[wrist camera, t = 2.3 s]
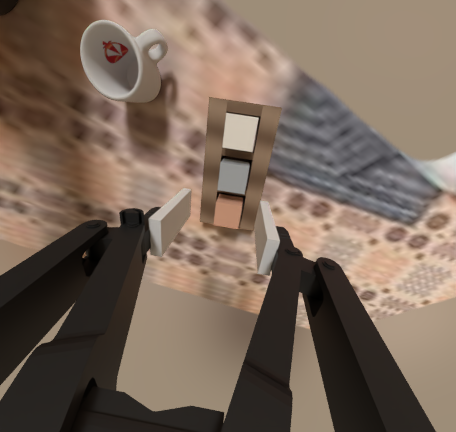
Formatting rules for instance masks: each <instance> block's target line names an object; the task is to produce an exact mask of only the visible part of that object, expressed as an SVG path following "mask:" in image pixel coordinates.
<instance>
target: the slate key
mask: <svg viewBox="0 0 456 432" xmlns="http://www.w3.org/2000/svg"><path fill="white" fill-rule="evenodd" d="M249 167H250V166H249V162H245V161H238V160H232V159H226V158H224V159H223V160H222V161H221V163H220V172H219V181H218V189H217V190H220V191H226V192H232V193H238V194H245V189H246V183H247V178H248V172H249Z"/></svg>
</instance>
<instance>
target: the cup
mask: <svg viewBox="0 0 456 432" xmlns="http://www.w3.org/2000/svg"><path fill="white" fill-rule="evenodd" d="M155 44H159V45H158V46H157V47H156V48H155V49H153V50H149V49H150V48H151V47H152V46H153V45H155ZM167 51H168V46H167V43H166V40H165V38H164V37H163V35H162V34H161V33H160V32H159V31H158V30H156V29H148V30H146V31H144V32H143V33H142V34H140V35H139V36H138V37H136V38H135V37H133V36H131V35H130V34H129V33H128V32H127V31H126V30H125V29H124V28H123V27H121V26H120V25H118V24H117V23H114V22H112V21H108V20H99V21H95V22H93V23H92V24H90V25H89V26H88V27H87V29H86V30H85V32H84V33H83V36H82V39H81V45H80V55H81V61H82V65H83V68H84V71H85V73H86V75H87V77H88V79H89V81H90V82H91V83H92V85H93V86H94V87H95V88H96V89H97V90H98V91H99V92H100V93H101V94H102V95H104V96H105V97H107V98H109V99H112V100H115V101H123V102H138V103H146V102H150V101H152V100H153V99H155V98H156V96H157V95H158V93H159V91H160V87H161V77H160V73H159V70H158V67H157V63H158V62H159V61H160V60H161V59H162V58H163V57H164V56H165V55H166V53H167Z"/></svg>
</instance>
